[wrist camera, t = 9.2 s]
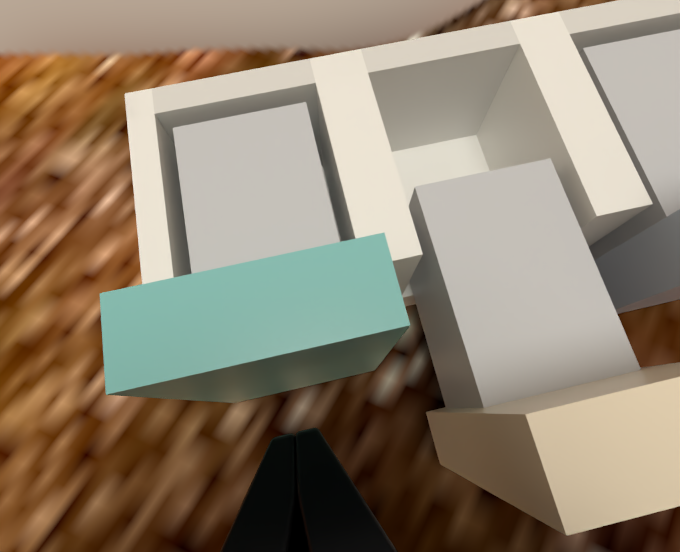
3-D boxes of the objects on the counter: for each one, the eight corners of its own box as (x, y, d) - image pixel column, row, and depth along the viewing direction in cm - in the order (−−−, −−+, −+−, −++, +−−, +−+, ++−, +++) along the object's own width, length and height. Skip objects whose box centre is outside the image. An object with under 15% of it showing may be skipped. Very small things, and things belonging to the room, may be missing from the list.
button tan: (581, 428, 13) (881, 453, 6) (440, 464, 13) (566, 536, 5) (505, 225, 15) (656, 53, 8) (382, 252, 15) (418, 99, 7)
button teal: (374, 370, 13) (410, 325, 6) (235, 403, 13) (106, 394, 6) (328, 181, 15) (314, -17, 8) (206, 206, 15) (83, 24, 8)
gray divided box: (675, 245, 16) (842, 162, 10) (216, 348, 15) (145, 314, 9) (608, 110, 17) (722, -20, 12) (194, 195, 16) (124, 93, 11)
